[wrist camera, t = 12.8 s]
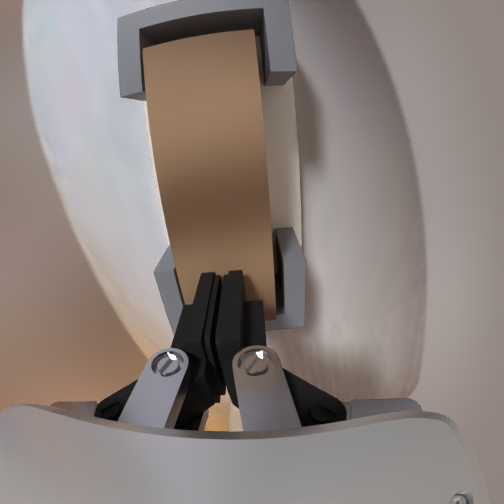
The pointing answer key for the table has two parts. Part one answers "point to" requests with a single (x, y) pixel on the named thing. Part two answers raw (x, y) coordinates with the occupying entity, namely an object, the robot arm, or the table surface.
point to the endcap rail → (274, 119)
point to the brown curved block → (212, 159)
